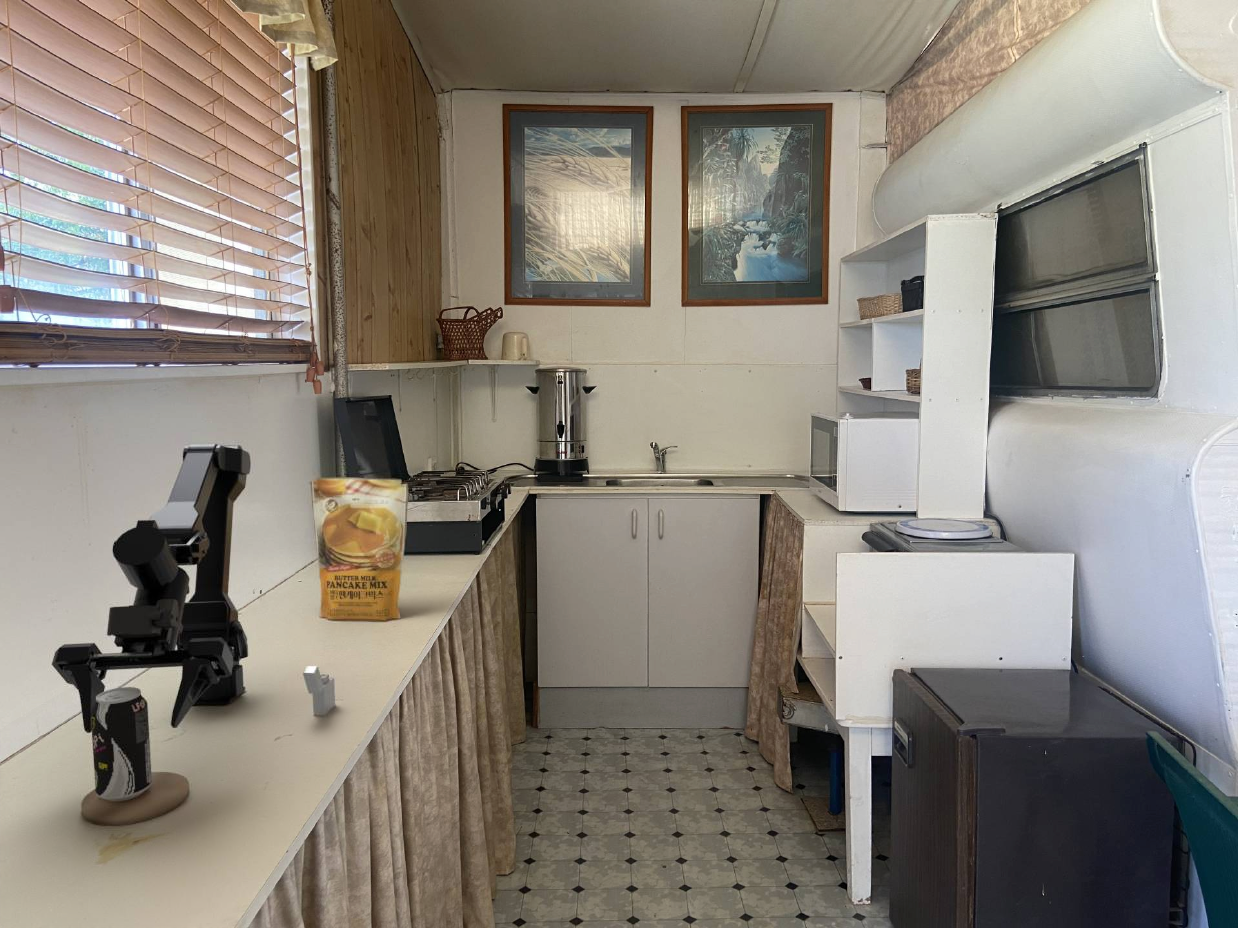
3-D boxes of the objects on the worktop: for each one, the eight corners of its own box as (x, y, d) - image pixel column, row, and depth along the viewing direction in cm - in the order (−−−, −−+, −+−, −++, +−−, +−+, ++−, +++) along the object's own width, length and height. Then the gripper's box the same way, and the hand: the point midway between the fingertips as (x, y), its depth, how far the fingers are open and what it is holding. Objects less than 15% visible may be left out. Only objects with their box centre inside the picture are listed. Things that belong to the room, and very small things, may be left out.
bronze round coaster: (60, 824, 99) (59, 816, 99) (116, 779, 110) (116, 771, 110) (159, 825, 99) (158, 817, 99) (206, 779, 110) (205, 772, 110)
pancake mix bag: (321, 611, 185) (316, 475, 182) (413, 613, 184) (409, 476, 180) (308, 620, 178) (302, 480, 175) (403, 622, 177) (399, 481, 174)
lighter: (324, 704, 135) (322, 652, 134) (335, 704, 134) (333, 652, 134) (304, 723, 128) (302, 668, 127) (316, 723, 127) (314, 669, 127)
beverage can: (89, 793, 105) (82, 693, 103) (142, 777, 109) (136, 680, 107) (105, 810, 101) (98, 706, 99) (159, 792, 105) (154, 693, 103)
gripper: (53, 578, 105) (13, 704, 96) (222, 572, 108) (199, 694, 99) (86, 624, 114) (52, 744, 104) (241, 617, 117) (222, 734, 107)
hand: (130, 728), depth 103 cm, fingers open, 9 cm apart
